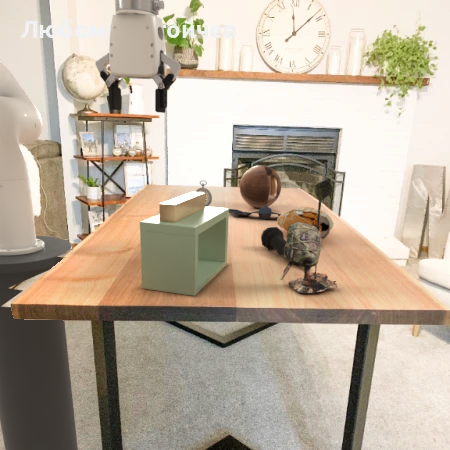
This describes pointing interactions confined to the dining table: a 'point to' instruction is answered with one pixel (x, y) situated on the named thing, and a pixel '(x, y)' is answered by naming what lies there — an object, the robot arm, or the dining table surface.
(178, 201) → the stick
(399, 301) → the dining table surface
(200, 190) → the pocket watch
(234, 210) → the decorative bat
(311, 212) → the nautilus
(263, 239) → the microphone
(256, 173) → the wooden sphere
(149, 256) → the shelf
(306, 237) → the plant with pod
